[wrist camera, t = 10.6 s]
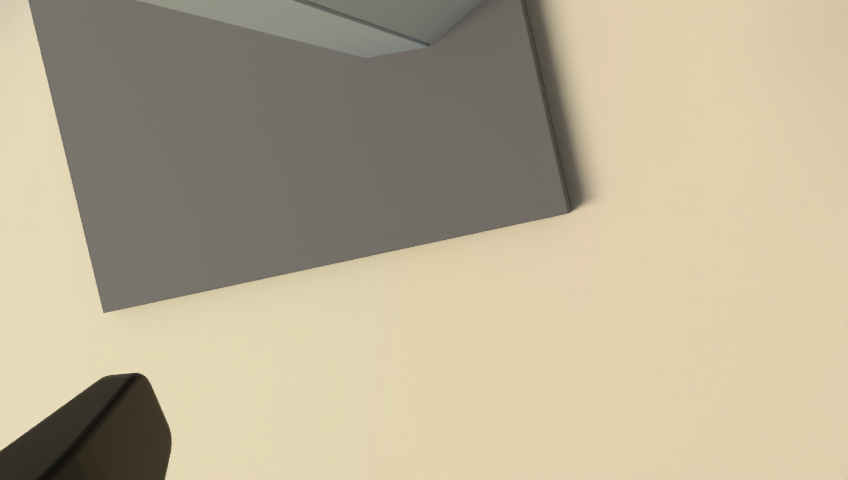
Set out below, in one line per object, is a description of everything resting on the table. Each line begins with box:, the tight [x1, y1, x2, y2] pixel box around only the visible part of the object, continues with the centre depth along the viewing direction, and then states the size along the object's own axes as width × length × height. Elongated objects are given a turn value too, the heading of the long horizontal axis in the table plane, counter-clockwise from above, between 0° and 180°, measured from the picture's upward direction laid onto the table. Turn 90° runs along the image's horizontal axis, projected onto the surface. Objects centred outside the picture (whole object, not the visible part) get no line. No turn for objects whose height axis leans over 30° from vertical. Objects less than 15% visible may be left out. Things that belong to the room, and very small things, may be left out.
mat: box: [28, 0, 572, 313], centre depth 22 cm, size 13×15×1 cm
